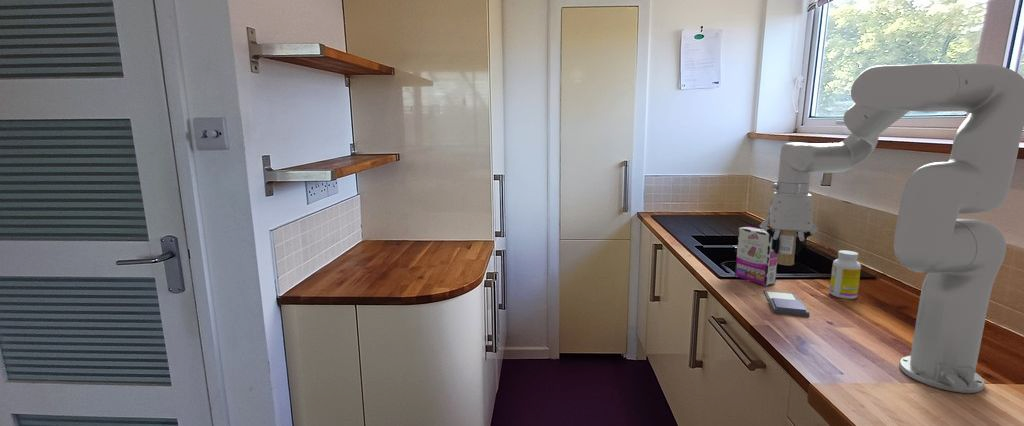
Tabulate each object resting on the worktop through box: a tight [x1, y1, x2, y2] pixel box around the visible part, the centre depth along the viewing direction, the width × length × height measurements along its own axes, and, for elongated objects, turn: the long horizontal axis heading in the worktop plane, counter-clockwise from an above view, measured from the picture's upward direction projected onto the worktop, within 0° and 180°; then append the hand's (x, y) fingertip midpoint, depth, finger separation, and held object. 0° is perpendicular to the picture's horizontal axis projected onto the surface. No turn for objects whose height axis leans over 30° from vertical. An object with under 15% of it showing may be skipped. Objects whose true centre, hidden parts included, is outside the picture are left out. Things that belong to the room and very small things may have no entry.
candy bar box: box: [734, 226, 779, 287], centre depth 150 cm, size 11×5×16 cm, turn 27°
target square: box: [763, 289, 799, 302], centre depth 137 cm, size 8×8×1 cm
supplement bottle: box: [829, 249, 862, 300], centre depth 137 cm, size 7×7×13 cm
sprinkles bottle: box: [776, 230, 797, 266], centre depth 133 cm, size 5×5×14 cm
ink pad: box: [768, 298, 811, 318], centre depth 128 cm, size 8×8×2 cm
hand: (785, 252), depth 134 cm, fingers closed on sprinkles bottle, 4 cm apart
